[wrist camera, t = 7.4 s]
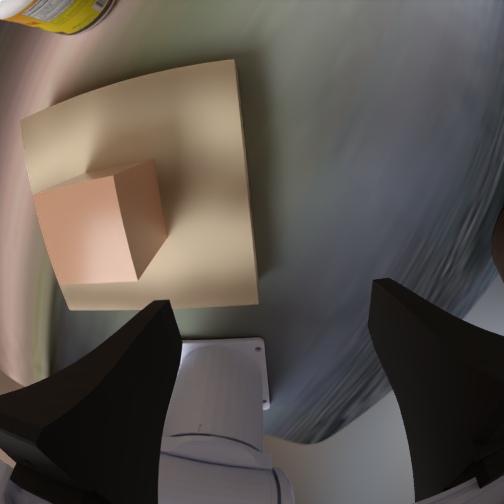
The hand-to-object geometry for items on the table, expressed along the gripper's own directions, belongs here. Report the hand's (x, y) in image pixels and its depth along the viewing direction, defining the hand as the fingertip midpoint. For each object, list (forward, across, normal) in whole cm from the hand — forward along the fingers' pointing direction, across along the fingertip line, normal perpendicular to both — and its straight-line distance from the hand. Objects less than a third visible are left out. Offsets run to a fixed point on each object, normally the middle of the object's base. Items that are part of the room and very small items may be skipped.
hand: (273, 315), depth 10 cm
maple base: (+10, +8, -3) cm, 13 cm away
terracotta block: (+7, +8, -3) cm, 11 cm away
